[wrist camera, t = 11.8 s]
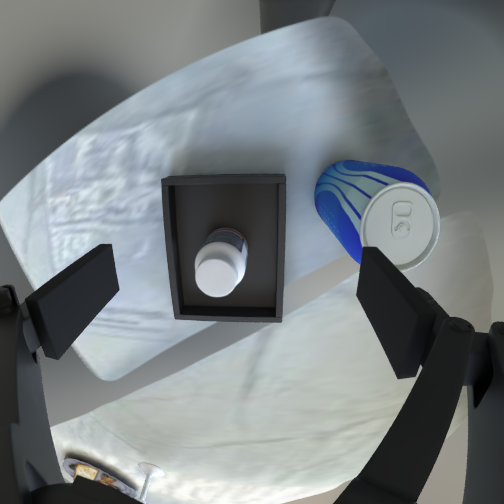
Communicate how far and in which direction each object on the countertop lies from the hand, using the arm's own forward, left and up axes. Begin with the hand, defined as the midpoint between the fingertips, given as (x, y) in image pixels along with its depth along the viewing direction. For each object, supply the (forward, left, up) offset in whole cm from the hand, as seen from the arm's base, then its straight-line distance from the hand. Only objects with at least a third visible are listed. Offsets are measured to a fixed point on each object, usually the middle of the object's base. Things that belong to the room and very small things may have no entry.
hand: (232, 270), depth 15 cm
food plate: (+78, -46, -22) cm, 93 cm away
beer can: (-1, +11, -22) cm, 24 cm away
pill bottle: (+6, -3, -21) cm, 22 cm away
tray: (+6, -3, -21) cm, 22 cm away
